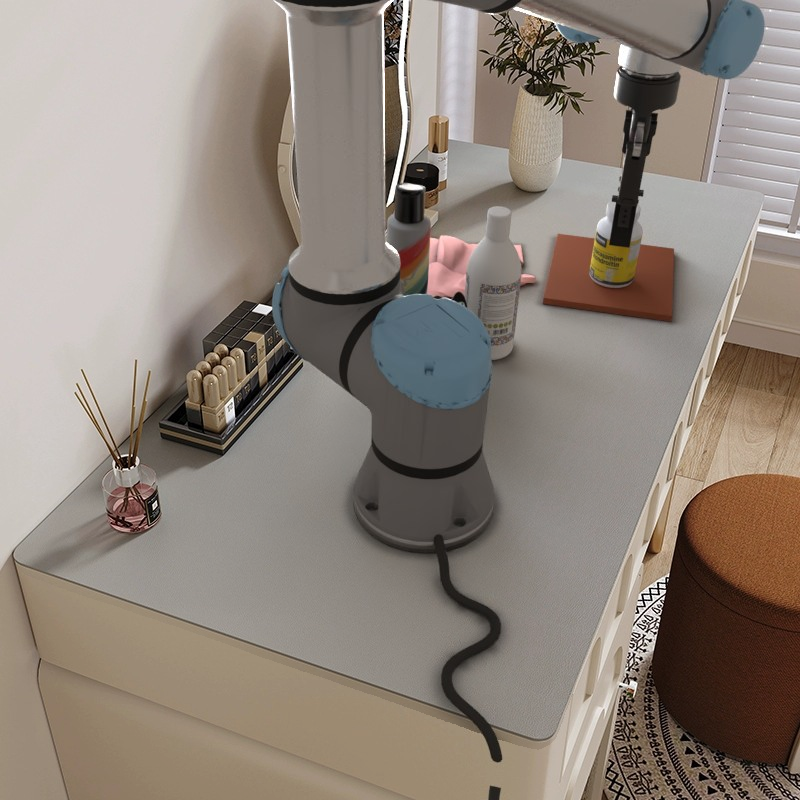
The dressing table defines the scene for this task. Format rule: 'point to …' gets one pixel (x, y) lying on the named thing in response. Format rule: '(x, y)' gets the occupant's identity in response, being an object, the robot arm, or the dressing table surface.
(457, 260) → the cloth
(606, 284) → the pill bottle
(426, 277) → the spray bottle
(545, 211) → the dressing table surface
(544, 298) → the mat
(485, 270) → the bath foam
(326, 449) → the dressing table surface
